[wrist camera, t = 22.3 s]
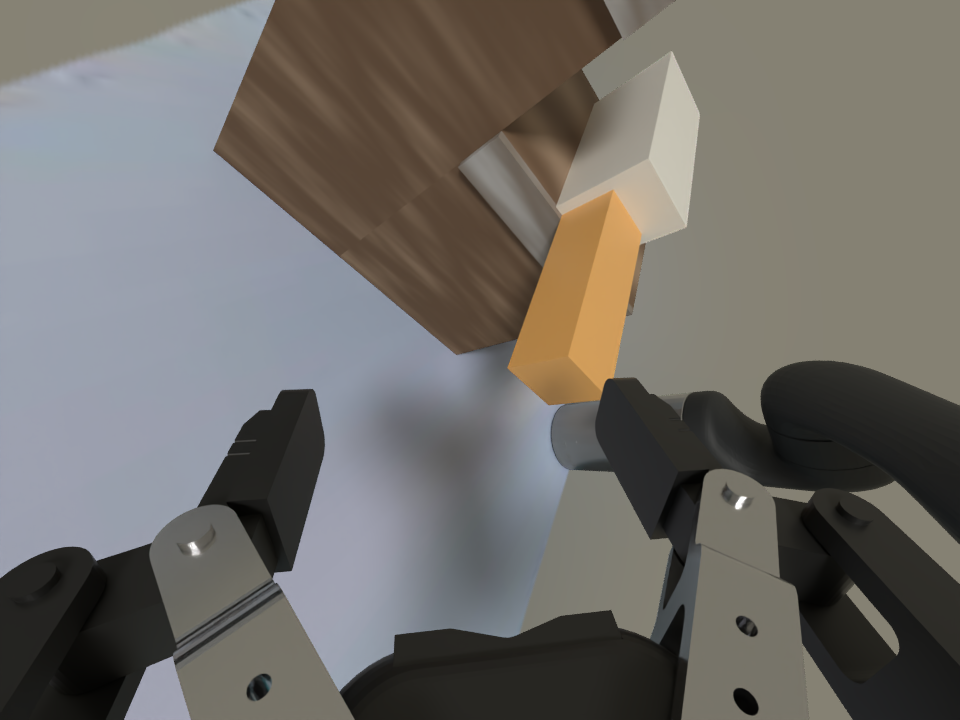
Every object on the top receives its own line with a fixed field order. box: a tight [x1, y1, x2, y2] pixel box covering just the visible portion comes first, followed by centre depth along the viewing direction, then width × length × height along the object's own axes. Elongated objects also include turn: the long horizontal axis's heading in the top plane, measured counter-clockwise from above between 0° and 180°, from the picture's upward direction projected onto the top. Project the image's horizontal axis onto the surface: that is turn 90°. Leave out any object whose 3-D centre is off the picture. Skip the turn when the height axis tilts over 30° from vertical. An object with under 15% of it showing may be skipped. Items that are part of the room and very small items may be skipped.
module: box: [508, 51, 700, 405], centre depth 25 cm, size 25×5×6 cm, turn 154°
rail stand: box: [213, 0, 676, 355], centre depth 31 cm, size 15×28×32 cm, turn 64°
